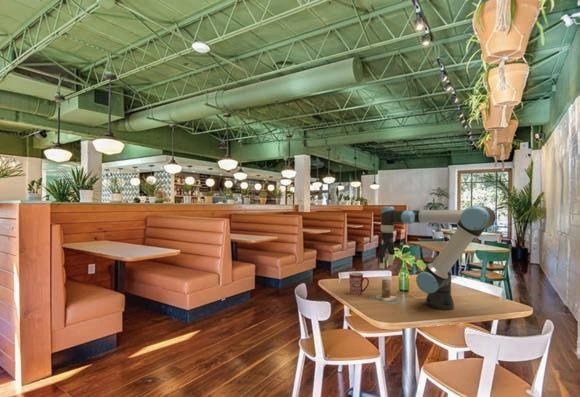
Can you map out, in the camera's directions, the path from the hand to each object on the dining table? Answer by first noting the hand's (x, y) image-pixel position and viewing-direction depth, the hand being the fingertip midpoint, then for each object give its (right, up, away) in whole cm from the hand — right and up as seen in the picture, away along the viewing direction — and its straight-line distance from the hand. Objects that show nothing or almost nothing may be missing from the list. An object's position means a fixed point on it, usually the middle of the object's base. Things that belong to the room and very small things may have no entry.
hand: (386, 266), depth 195 cm
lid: (0, -19, 0) cm, 19 cm away
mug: (-15, -20, +8) cm, 26 cm away
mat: (0, -20, 0) cm, 20 cm away
